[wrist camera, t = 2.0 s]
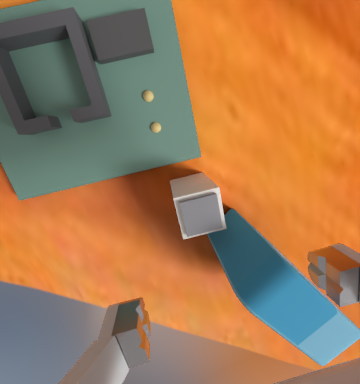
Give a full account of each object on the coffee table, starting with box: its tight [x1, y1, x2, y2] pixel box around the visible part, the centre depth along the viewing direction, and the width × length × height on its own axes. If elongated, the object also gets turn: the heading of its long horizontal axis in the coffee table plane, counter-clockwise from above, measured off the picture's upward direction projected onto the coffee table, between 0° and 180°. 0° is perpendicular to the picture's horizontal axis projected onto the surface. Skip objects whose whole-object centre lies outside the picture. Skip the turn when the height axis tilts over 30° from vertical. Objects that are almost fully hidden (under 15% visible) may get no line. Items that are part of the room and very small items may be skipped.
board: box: [0, 0, 201, 201], centre depth 19 cm, size 20×16×3 cm
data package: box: [207, 209, 360, 366], centre depth 21 cm, size 12×4×12 cm, turn 47°
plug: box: [170, 172, 226, 240], centre depth 20 cm, size 4×4×7 cm
